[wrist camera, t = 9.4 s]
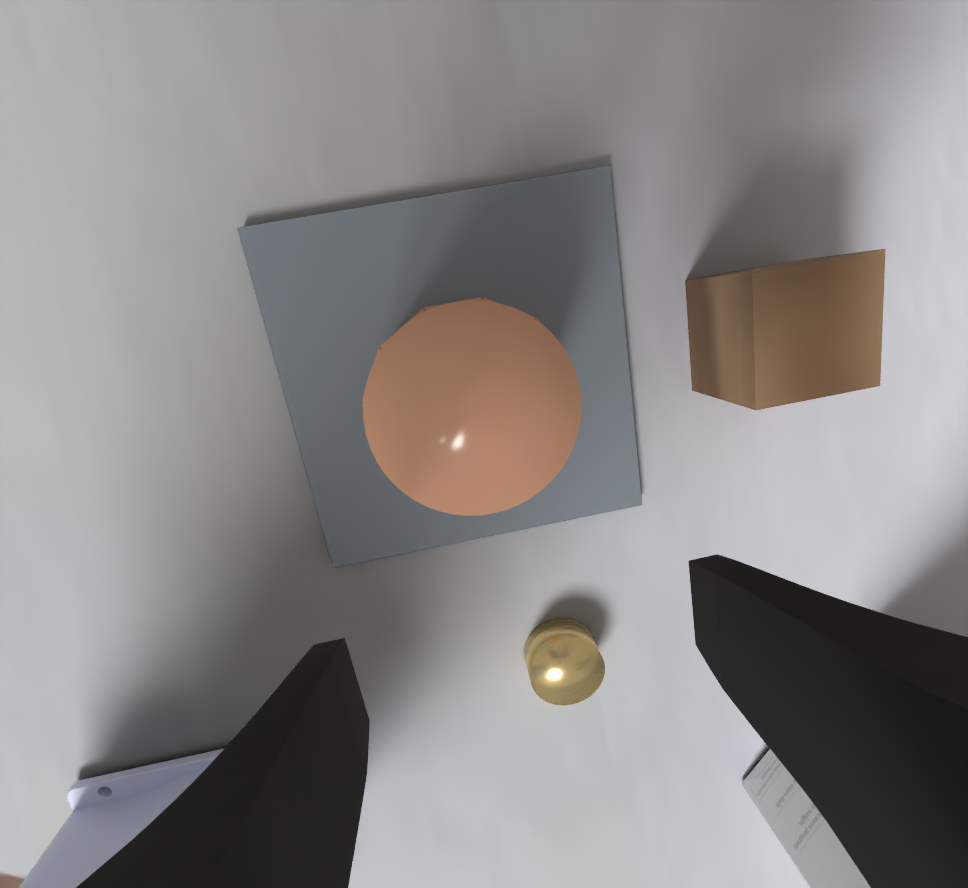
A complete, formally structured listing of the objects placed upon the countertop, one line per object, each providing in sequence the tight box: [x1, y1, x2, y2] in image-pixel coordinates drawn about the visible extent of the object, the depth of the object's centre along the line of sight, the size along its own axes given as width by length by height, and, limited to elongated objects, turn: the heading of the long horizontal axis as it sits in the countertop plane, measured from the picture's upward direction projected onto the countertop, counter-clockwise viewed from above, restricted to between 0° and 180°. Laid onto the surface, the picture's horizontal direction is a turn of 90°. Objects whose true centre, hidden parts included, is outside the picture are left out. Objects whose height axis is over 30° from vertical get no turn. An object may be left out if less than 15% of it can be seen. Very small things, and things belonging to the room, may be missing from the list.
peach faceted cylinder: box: [362, 297, 582, 516], centre depth 15 cm, size 6×6×5 cm
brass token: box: [524, 618, 605, 705], centre depth 21 cm, size 3×3×2 cm
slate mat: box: [237, 165, 642, 568], centre depth 18 cm, size 12×12×1 cm
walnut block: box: [686, 249, 885, 410], centre depth 17 cm, size 4×4×4 cm
